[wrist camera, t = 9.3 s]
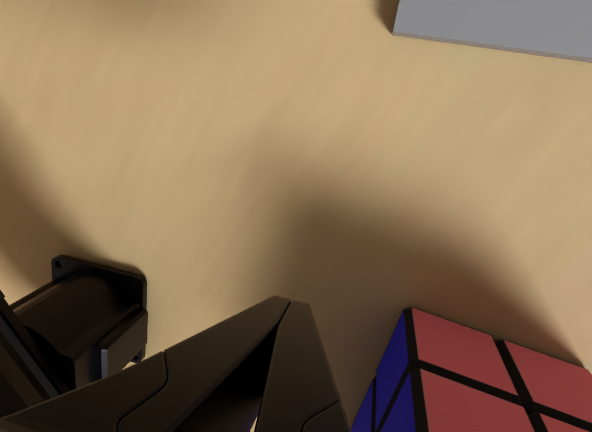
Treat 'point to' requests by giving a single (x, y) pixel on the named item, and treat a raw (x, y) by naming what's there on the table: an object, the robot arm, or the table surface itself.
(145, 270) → the table surface
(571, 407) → the puzzle cube
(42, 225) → the table surface
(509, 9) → the crank base
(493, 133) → the table surface
